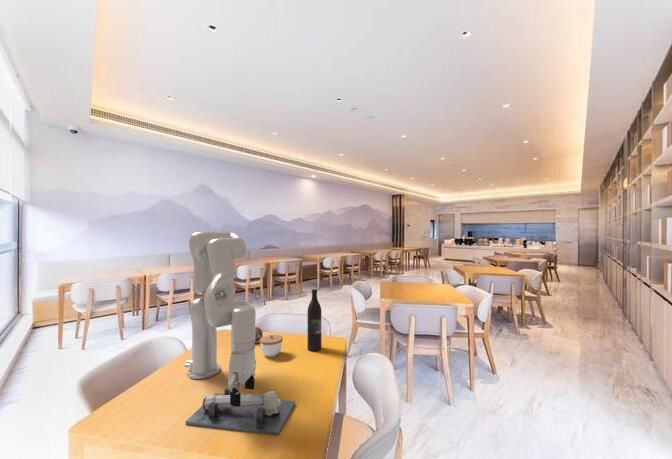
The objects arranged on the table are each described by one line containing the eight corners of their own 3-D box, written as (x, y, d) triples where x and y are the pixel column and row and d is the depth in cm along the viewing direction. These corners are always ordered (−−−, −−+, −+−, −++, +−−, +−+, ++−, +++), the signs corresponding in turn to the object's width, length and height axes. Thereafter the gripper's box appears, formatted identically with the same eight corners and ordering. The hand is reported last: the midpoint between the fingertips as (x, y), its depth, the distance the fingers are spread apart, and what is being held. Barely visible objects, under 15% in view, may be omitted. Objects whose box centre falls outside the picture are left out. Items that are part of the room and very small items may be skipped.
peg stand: (185, 424, 91) (185, 408, 91) (215, 396, 107) (215, 382, 107) (278, 435, 86) (278, 418, 86) (295, 404, 102) (295, 389, 102)
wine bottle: (310, 352, 145) (310, 291, 145) (305, 347, 152) (305, 289, 152) (323, 350, 148) (323, 290, 148) (318, 345, 154) (318, 288, 155)
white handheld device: (209, 392, 100) (280, 385, 98) (211, 412, 100) (283, 405, 98) (200, 401, 95) (275, 393, 93) (203, 422, 95) (278, 415, 93)
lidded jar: (256, 354, 144) (256, 334, 144) (275, 348, 151) (275, 329, 151) (267, 361, 136) (267, 340, 136) (286, 354, 143) (286, 335, 143)
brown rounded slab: (234, 342, 159) (234, 327, 159) (237, 340, 162) (237, 325, 162) (260, 344, 156) (261, 328, 156) (263, 342, 159) (263, 326, 159)
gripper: (245, 334, 106) (244, 382, 106) (218, 354, 89) (217, 411, 89) (264, 336, 105) (264, 384, 105) (241, 357, 88) (240, 414, 88)
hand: (242, 396), depth 97 cm, fingers open, 9 cm apart
